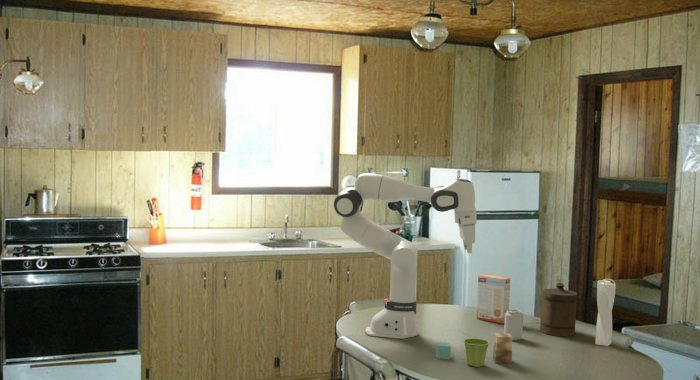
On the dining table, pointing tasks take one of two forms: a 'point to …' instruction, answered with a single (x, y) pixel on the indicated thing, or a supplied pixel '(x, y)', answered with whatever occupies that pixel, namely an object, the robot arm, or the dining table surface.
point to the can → (514, 324)
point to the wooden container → (558, 311)
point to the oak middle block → (503, 341)
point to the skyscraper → (604, 311)
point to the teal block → (443, 350)
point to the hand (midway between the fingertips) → (467, 251)
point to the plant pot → (476, 351)
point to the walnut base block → (502, 356)
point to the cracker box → (493, 298)
